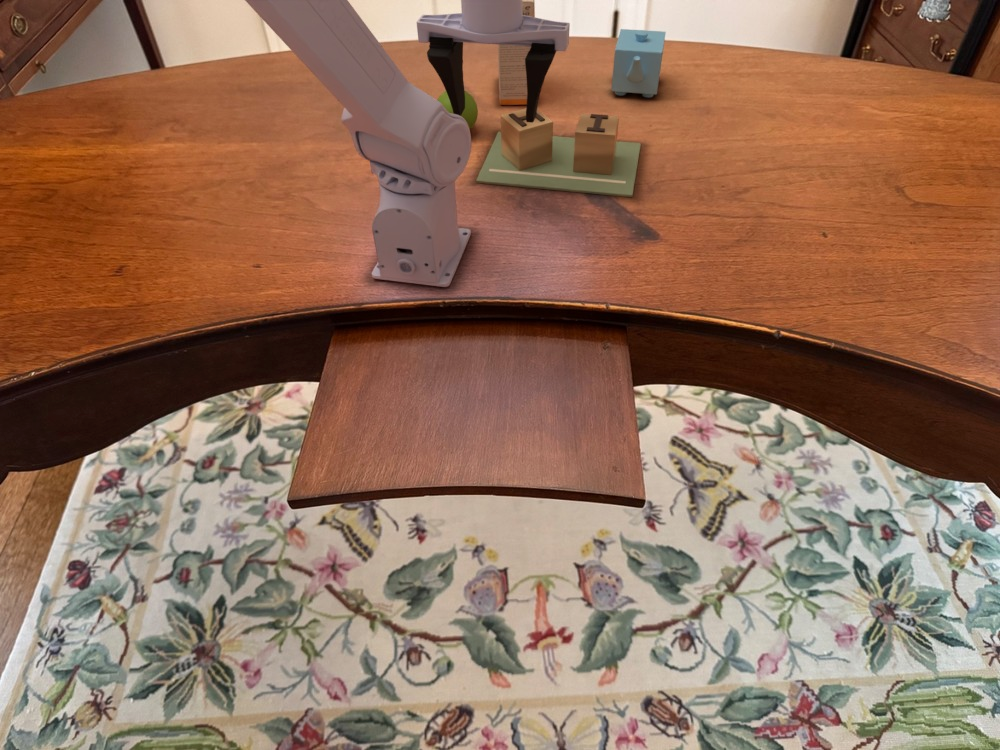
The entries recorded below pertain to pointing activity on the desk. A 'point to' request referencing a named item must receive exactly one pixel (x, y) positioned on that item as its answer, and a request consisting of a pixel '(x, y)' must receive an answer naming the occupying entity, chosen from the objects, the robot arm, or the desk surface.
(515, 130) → the tile
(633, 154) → the word mat
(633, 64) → the teapot
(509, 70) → the supplement box
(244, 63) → the desk surface
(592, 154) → the tile
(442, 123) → the robot arm
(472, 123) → the snail figurine
